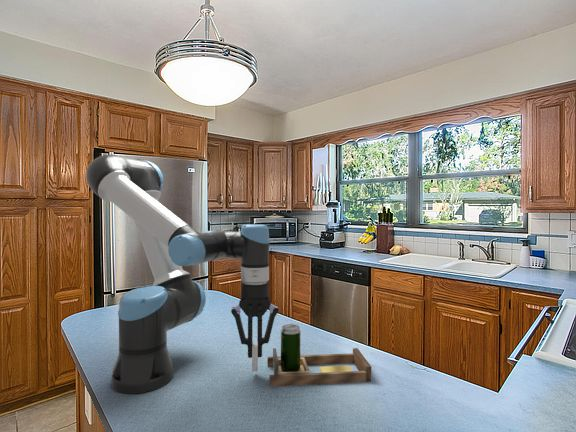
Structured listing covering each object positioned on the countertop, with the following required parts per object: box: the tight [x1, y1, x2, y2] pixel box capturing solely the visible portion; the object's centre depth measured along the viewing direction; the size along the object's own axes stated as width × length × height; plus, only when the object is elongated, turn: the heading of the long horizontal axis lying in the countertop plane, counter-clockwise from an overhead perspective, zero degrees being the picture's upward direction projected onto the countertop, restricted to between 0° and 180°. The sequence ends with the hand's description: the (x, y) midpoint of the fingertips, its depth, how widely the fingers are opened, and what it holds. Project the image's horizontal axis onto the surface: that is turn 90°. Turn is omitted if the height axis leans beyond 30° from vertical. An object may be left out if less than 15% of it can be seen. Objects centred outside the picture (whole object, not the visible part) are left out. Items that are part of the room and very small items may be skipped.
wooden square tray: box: [272, 347, 311, 375], centre depth 94 cm, size 9×9×5 cm
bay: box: [266, 347, 372, 388], centre depth 94 cm, size 27×12×4 cm, turn 96°
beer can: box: [280, 323, 302, 372], centre depth 94 cm, size 5×5×12 cm
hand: (254, 368), depth 93 cm, fingers closed
